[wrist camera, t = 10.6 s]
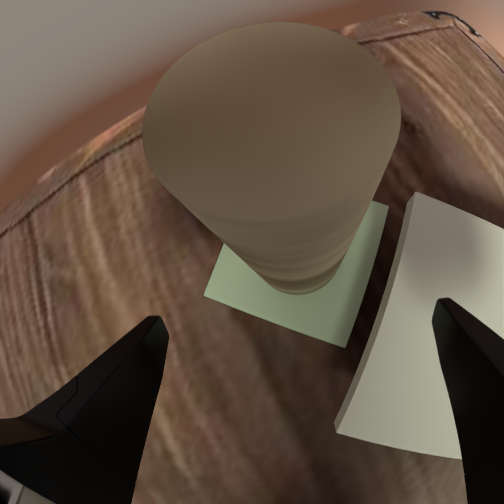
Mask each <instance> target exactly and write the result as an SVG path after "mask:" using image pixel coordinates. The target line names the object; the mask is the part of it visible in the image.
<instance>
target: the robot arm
mask: <svg viewBox="0 0 504 504" xmlns="http://www.w3.org/2000/svg"><path fill="white" fill-rule="evenodd" d="M432 327H433V331H434V336H435V341H436V346H437V351H438V357H439V362H440V366H441V370H442V373H443V377H444V380H445V384H446V388H447V392H448V395H449V399H450V403H451V407H452V412H453V416H454V420H455V425H456V430H457V435H458V440H459V445H460V450H461V456H462V462H463V469H464V474H465V475H464V477H465V484H466V492H467V502H468V504H504V339H503V338H502V337H500V336H499V335H498V334H497V333H495V332H494V331H493V330H492V329H490V328H489V327H488V326H487V325H485V324H484V323H483V322H481V321H480V320H479V319H478V318H476V317H475V316H474V315H472V314H471V313H470V312H468V311H467V310H466V309H464V308H463V307H462V306H460V305H459V304H458V303H456V302H455V301H454V300H452V299H451V298H449V297H445V298H439V299H438V300H437V301H436V305H435V308H434V312H433V315H432ZM168 341H169V334H168V331H167V329H166V327H165V324H164V322H163V320H162V318H161V317H160V316H148V317H146V318H145V319H144V320H143V321H142V322H140V323H139V324H138V325H137V326H135V327H134V328H133V329H132V330H131V331H129V332H128V333H127V334H126V335H124V336H123V337H122V338H121V339H120V340H118V341H117V342H116V343H115V344H114V345H112V346H111V347H110V348H109V349H108V350H106V351H105V352H104V353H103V354H101V355H100V356H99V357H98V358H97V359H95V360H94V361H93V362H92V363H91V364H89V365H88V366H87V367H86V368H85V369H83V370H82V371H81V372H80V373H79V374H78V375H76V376H75V377H74V378H73V379H71V380H70V381H69V382H68V383H67V384H65V385H64V386H63V387H62V388H60V389H59V390H58V391H56V392H55V393H54V394H52V395H51V396H50V397H48V398H47V399H45V400H44V401H42V402H41V403H40V404H38V405H37V406H35V407H34V408H33V409H31V410H30V411H28V412H27V413H25V414H24V415H21V416H19V417H16V418H8V419H0V504H131V502H132V498H133V493H134V489H135V484H136V483H135V482H136V479H137V475H138V471H139V466H140V462H141V458H142V454H143V450H144V446H145V442H146V438H147V434H148V430H149V426H150V422H151V418H152V414H153V410H154V407H155V403H156V399H157V396H158V392H159V388H160V385H161V381H162V377H163V371H164V365H165V359H166V353H167V347H168Z"/></svg>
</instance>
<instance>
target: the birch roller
mask: <svg viewBox="0 0 504 504" xmlns="http://www.w3.org/2000/svg"><path fill="white" fill-rule="evenodd" d="M400 127H401V109H400V101H399V98H398V94H397V91H396V88H395V86H394V84H393V82H392V80H391V78H390V76H389V75H388V73H387V72H386V70H385V69H384V67H383V66H382V65H381V64H380V63H379V61H378V60H377V59H376V58H375V57H374V56H373V55H372V54H370V53H369V52H368V51H367V50H366V49H365V48H363V47H362V46H360V45H359V44H357V43H356V42H354V41H353V40H351V39H349V38H347V37H345V36H343V35H341V34H339V33H336V32H334V31H331V30H328V29H325V28H322V27H318V26H314V25H309V24H303V23H293V22H268V23H258V24H253V25H247V26H243V27H239V28H235V29H232V30H229V31H227V32H224V33H221V34H218V35H216V36H214V37H212V38H210V39H208V40H206V41H204V42H203V43H201V44H199V45H198V46H196V47H194V48H193V49H191V50H190V51H189V52H187V53H186V54H185V55H183V56H182V57H181V58H180V59H179V60H178V61H177V62H176V63H174V65H172V67H171V68H170V69H169V70H168V71H167V72H166V73H165V74H164V76H163V77H162V79H161V80H160V81H159V83H158V84H157V86H156V88H155V89H154V91H153V93H152V95H151V97H150V99H149V102H148V105H147V107H146V111H145V115H144V119H143V129H142V137H143V146H144V151H145V155H146V158H147V160H148V163H149V165H150V167H151V170H152V171H153V173H154V174H155V176H156V177H157V179H158V180H159V181H160V182H161V184H162V185H163V186H164V187H165V188H166V189H167V190H168V191H169V192H170V193H171V194H172V195H173V196H174V197H175V198H176V199H177V200H179V201H180V202H181V203H182V204H183V205H184V206H185V207H186V208H187V209H188V210H189V211H190V212H191V213H192V214H193V215H194V216H196V217H197V218H198V219H199V220H200V221H201V222H202V223H203V224H204V225H205V226H206V227H207V228H208V229H209V230H210V231H212V232H213V233H214V234H215V235H216V236H217V237H218V238H219V239H220V240H221V241H222V242H223V243H224V244H226V245H227V246H228V247H229V248H230V249H231V250H232V251H233V252H234V253H235V254H236V255H237V256H238V257H240V258H241V259H242V260H243V261H244V262H245V263H246V264H247V265H248V266H249V267H250V268H251V269H252V270H254V271H255V272H256V273H257V274H258V275H259V276H260V277H261V278H262V279H263V280H264V281H265V282H267V283H268V284H269V285H270V286H271V287H273V288H274V289H276V290H278V291H280V292H283V293H286V294H290V295H305V294H309V293H313V292H315V291H317V290H319V289H321V288H323V287H324V286H325V285H326V284H328V283H329V282H330V281H331V279H332V278H333V277H334V275H335V274H336V272H337V270H338V268H339V266H340V264H341V262H342V260H343V259H344V257H345V255H346V253H347V251H348V249H349V247H350V245H351V243H352V241H353V239H354V237H355V235H356V232H357V230H358V228H359V226H360V224H361V222H362V220H363V218H364V216H365V214H366V212H367V210H368V207H369V205H370V203H371V201H372V199H373V197H374V194H375V192H376V190H377V188H378V185H379V183H380V181H381V179H382V176H383V174H384V172H385V170H386V167H387V165H388V163H389V160H390V158H391V156H392V153H393V151H394V148H395V146H396V143H397V140H398V136H399V132H400Z"/></svg>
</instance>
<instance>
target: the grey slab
mask: <svg viewBox="0 0 504 504" xmlns="http://www.w3.org/2000/svg"><path fill="white" fill-rule="evenodd" d="M445 297H449V298H451V299H452V300H454V301H455V302H456V303H458V304H459V305H460V306H462V307H463V308H464V309H466V310H467V311H468V312H470V313H471V314H472V315H474V316H475V317H476V318H478V319H479V320H480V321H481V322H483V323H484V324H485V325H487V326H488V327H489V328H490V329H492V330H493V331H494V332H495V333H497V334H498V335H499V336H500V337H502V338H503V339H504V229H502V228H500V227H498V226H496V225H494V224H492V223H490V222H488V221H485V220H483V219H481V218H479V217H477V216H474V215H472V214H470V213H468V212H465V211H463V210H461V209H458V208H456V207H454V206H451V205H449V204H446V203H444V202H441V201H439V200H436V199H434V198H431V197H429V196H426V195H424V194H421V193H419V192H415V193H414V194H413V196H412V197H411V198H410V200H409V201H408V202H407V206H406V211H405V215H404V220H403V224H402V228H401V233H400V237H399V241H398V245H397V249H396V252H395V256H394V260H393V264H392V267H391V271H390V274H389V278H388V281H387V285H386V288H385V291H384V294H383V298H382V301H381V304H380V307H379V310H378V313H377V316H376V319H375V322H374V325H373V328H372V331H371V334H370V336H369V339H368V342H367V345H366V347H365V350H364V353H363V355H362V358H361V360H360V363H359V366H358V368H357V371H356V373H355V376H354V378H353V380H352V383H351V385H350V388H349V390H348V392H347V395H346V397H345V399H344V401H343V404H342V406H341V408H340V410H339V413H338V415H337V417H336V419H335V421H334V425H335V429H336V433H339V434H343V435H346V436H350V437H353V438H357V439H361V440H365V441H368V442H372V443H376V444H381V445H385V446H389V447H394V448H398V449H403V450H408V451H413V452H418V453H424V454H430V455H436V456H442V457H449V458H456V459H462V456H461V450H460V445H459V440H458V435H457V430H456V425H455V420H454V416H453V412H452V407H451V403H450V399H449V395H448V392H447V388H446V384H445V380H444V377H443V373H442V370H441V366H440V362H439V357H438V351H437V346H436V341H435V336H434V331H433V327H432V315H433V312H434V308H435V305H436V301H437V300H438V299H439V298H445Z"/></svg>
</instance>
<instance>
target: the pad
mask: <svg viewBox="0 0 504 504" xmlns="http://www.w3.org/2000/svg"><path fill="white" fill-rule="evenodd" d="M388 208H389V206H387V205H384V204H381V203H378V202H375V201H371V203H370V205H369V207H368V210H367V212H366V214H365V216H364V218H363V220H362V222H361V224H360V226H359V228H358V230H357V232H356V235H355V237H354V239H353V241H352V243H351V245H350V247H349V249H348V251H347V253H346V255H345V257H344V259H343V260H342V262H341V264H340V266H339V268H338V270H337V272H336V274H335V275H334V277H333V278H332V279H331V281H330V282H329V283H328V284H326V285H325V286H324V287H323V288H321V289H319V290H317V291H315V292H313V293H309V294H305V295H290V294H286V293H283V292H280V291H278V290H276V289H274V288H273V287H271V286H270V285H269V284H268V283H267V282H265V281H264V280H263V279H262V278H261V277H260V276H259V275H258V274H257V273H256V272H255V271H254V270H252V269H251V268H250V267H249V266H248V265H247V264H246V263H245V262H244V261H243V260H242V259H241V258H240V257H238V256H237V255H236V254H235V253H234V252H233V251H232V250H231V249H230V248H229V247H228V246H227V245H226V244H223V247H222V249H221V252H220V254H219V257H218V260H217V262H216V265H215V267H214V270H213V272H212V275H211V277H210V280H209V283H208V285H207V288H206V290H205V293H204V296H206V297H209V298H211V299H214V300H216V301H219V302H221V303H224V304H226V305H229V306H231V307H234V308H236V309H239V310H241V311H244V312H246V313H249V314H252V315H254V316H257V317H260V318H262V319H265V320H267V321H270V322H273V323H275V324H278V325H281V326H284V327H286V328H289V329H292V330H295V331H297V332H300V333H303V334H306V335H309V336H311V337H314V338H317V339H320V340H323V341H326V342H329V343H332V344H335V345H337V346H340V347H343V348H345V347H346V345H347V342H348V339H349V337H350V334H351V331H352V328H353V326H354V323H355V320H356V317H357V314H358V311H359V308H360V305H361V302H362V299H363V296H364V293H365V290H366V287H367V284H368V281H369V277H370V274H371V271H372V268H373V264H374V261H375V257H376V254H377V250H378V247H379V243H380V239H381V236H382V232H383V228H384V224H385V220H386V216H387V212H388Z"/></svg>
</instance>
